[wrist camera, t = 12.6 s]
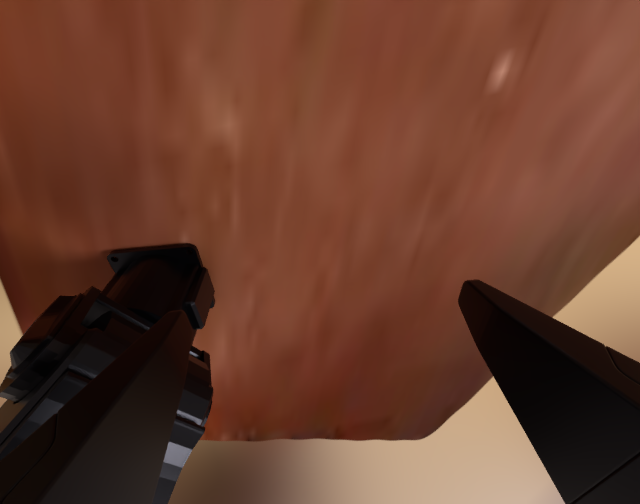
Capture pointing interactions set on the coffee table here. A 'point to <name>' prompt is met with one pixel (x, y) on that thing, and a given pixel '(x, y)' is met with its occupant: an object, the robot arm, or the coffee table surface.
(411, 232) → the coffee table surface
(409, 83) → the coffee table surface
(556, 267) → the coffee table surface
